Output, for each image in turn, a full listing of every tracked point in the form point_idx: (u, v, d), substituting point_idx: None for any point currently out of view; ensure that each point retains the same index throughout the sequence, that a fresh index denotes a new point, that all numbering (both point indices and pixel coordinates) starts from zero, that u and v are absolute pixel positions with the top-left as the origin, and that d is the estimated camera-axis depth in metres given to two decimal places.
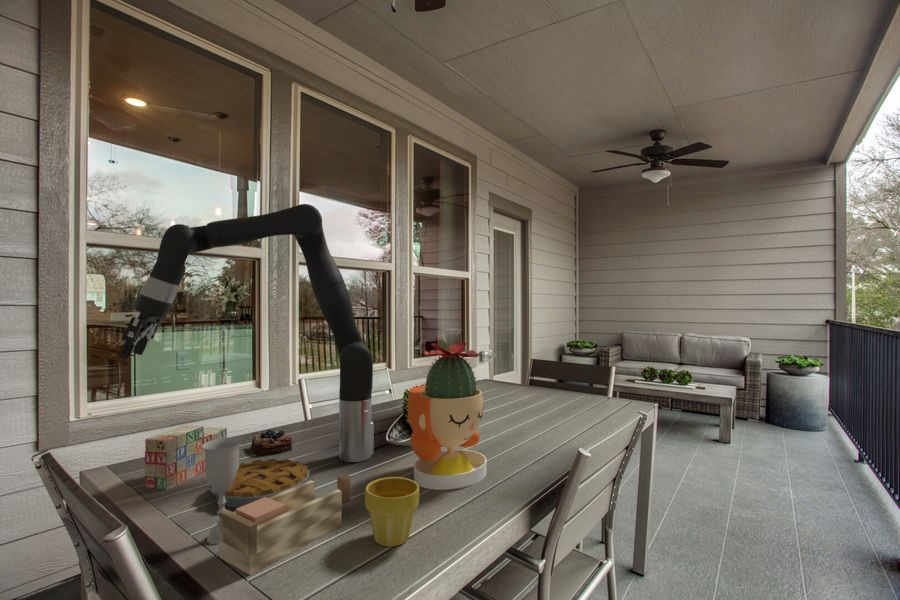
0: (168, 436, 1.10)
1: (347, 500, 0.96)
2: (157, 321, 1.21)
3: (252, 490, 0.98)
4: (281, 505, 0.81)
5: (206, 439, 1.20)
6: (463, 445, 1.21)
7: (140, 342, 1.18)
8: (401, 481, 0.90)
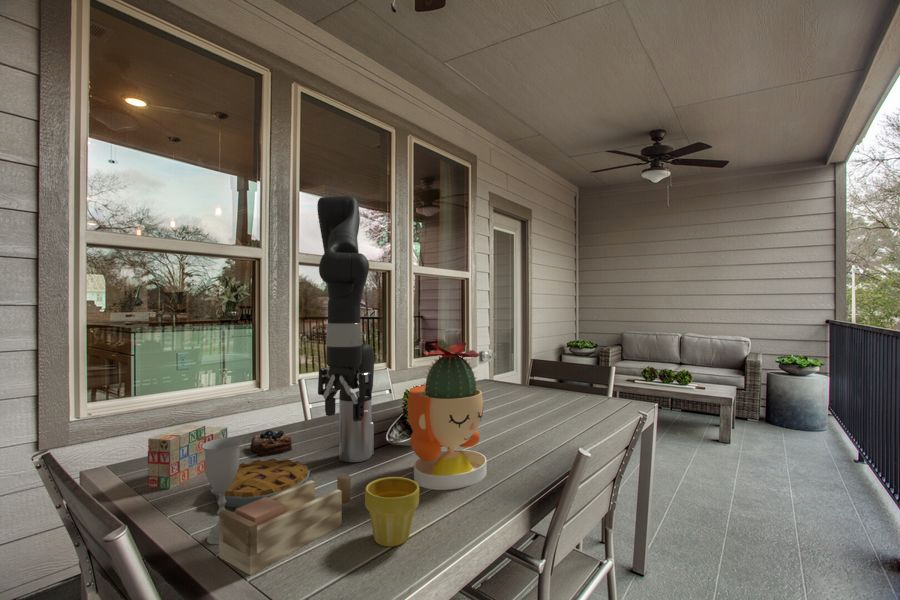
0: (171, 435, 1.11)
1: (347, 500, 0.96)
2: None
3: (252, 490, 0.98)
4: (281, 505, 0.81)
5: (208, 438, 1.21)
6: (463, 445, 1.21)
7: (330, 401, 0.99)
8: (401, 481, 0.90)
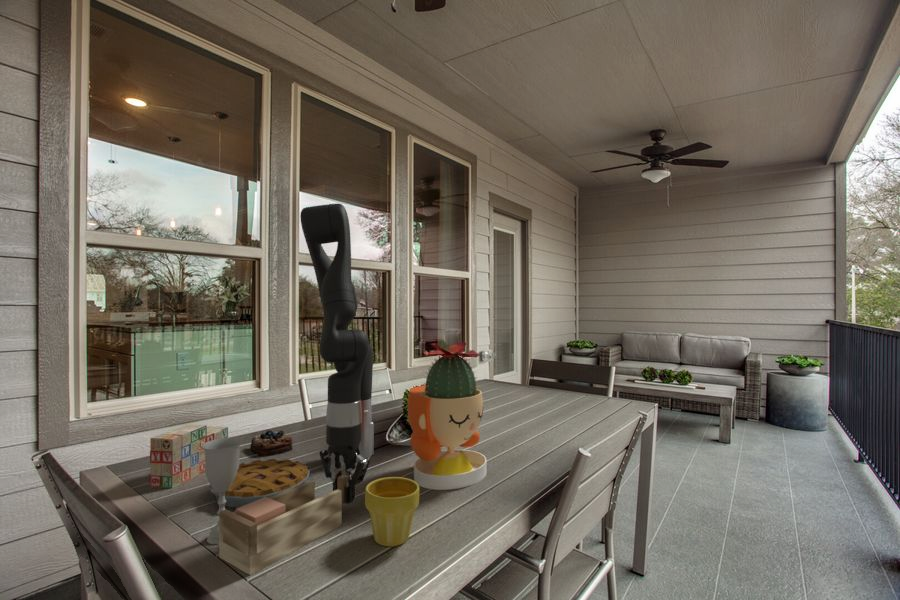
0: (173, 435, 1.11)
1: None
2: None
3: (252, 490, 0.98)
4: (281, 505, 0.81)
5: (209, 438, 1.21)
6: (463, 445, 1.21)
7: None
8: (401, 481, 0.90)
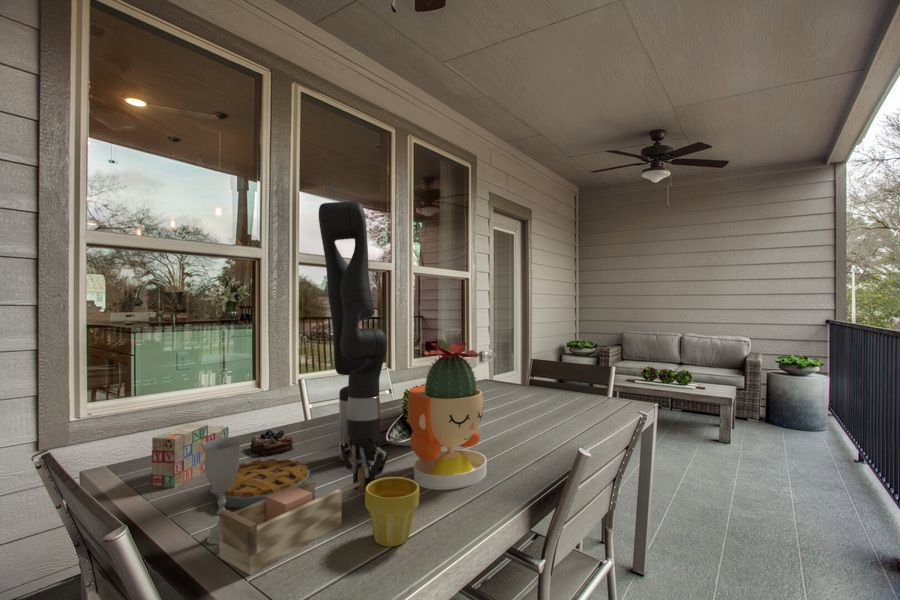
0: (175, 435, 1.11)
1: None
2: None
3: (252, 490, 0.98)
4: (308, 493, 0.86)
5: (210, 437, 1.22)
6: (463, 445, 1.21)
7: None
8: (401, 481, 0.90)
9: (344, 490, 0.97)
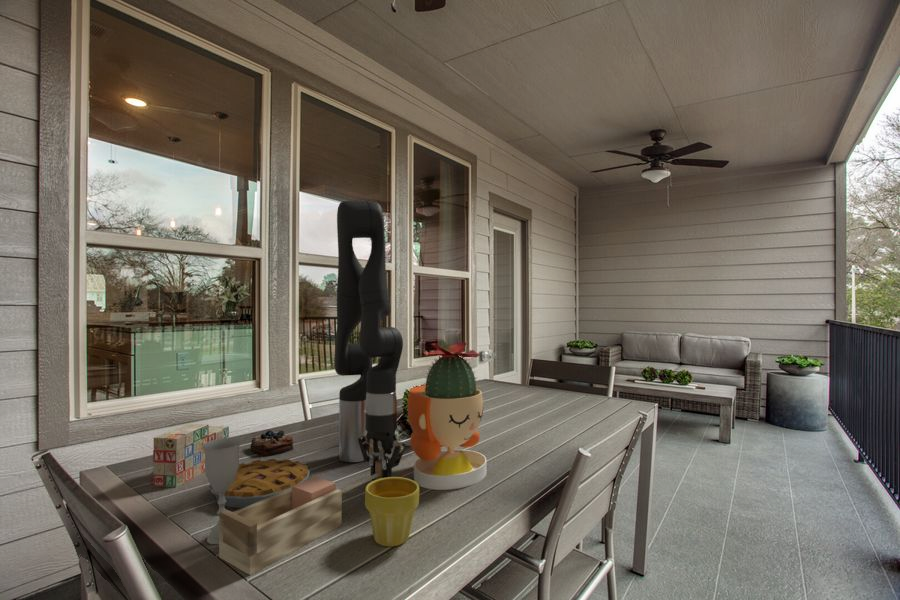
0: (176, 434, 1.11)
1: None
2: None
3: (252, 490, 0.98)
4: (332, 483, 0.91)
5: (211, 437, 1.22)
6: (463, 445, 1.21)
7: None
8: (401, 481, 0.90)
9: (363, 481, 1.01)
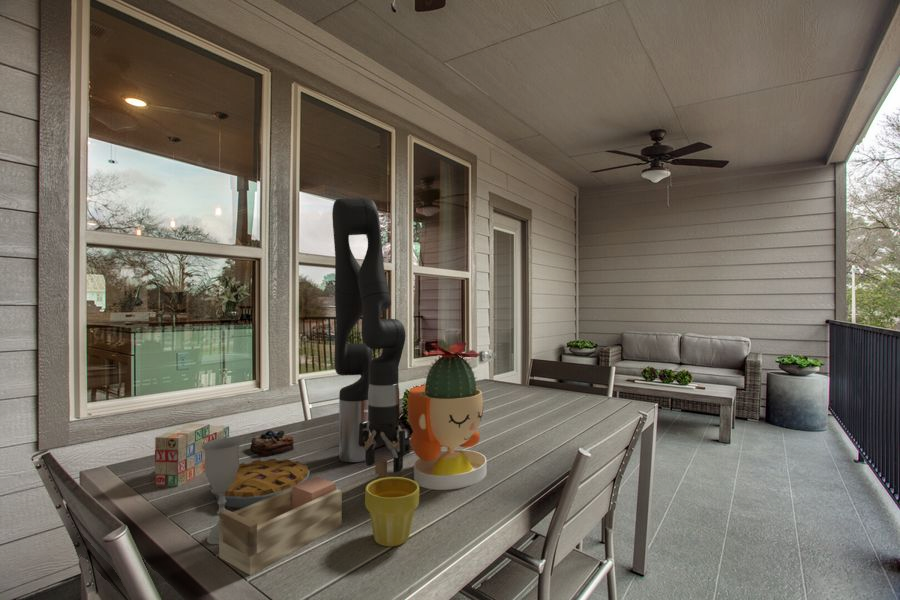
0: (178, 434, 1.12)
1: None
2: None
3: (252, 490, 0.98)
4: (332, 483, 0.91)
5: (212, 437, 1.22)
6: (463, 445, 1.21)
7: (370, 452, 1.09)
8: (401, 481, 0.90)
9: (363, 481, 1.01)
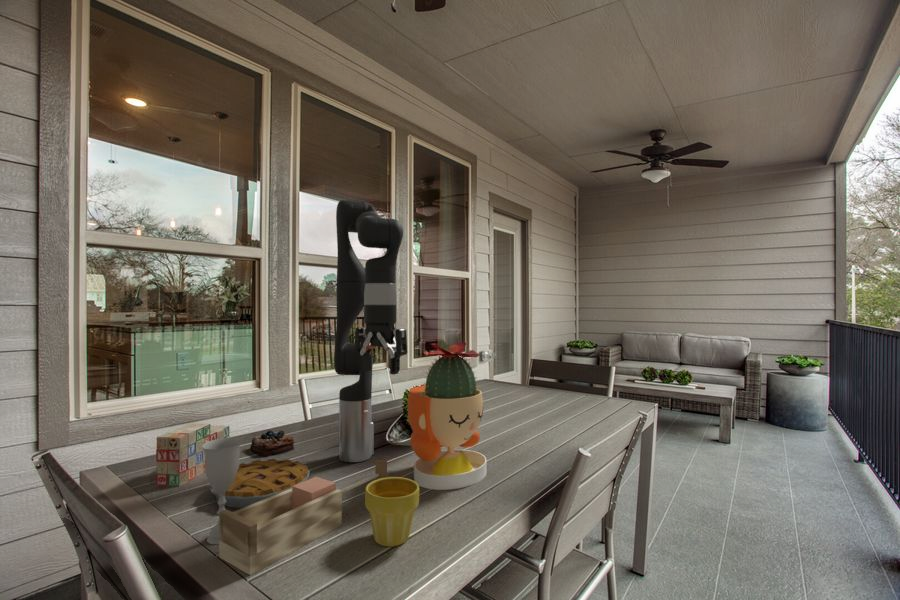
0: (179, 434, 1.12)
1: None
2: None
3: (252, 490, 0.98)
4: (332, 483, 0.91)
5: (212, 436, 1.22)
6: (463, 445, 1.21)
7: (367, 358, 1.06)
8: (401, 481, 0.90)
9: (363, 481, 1.01)
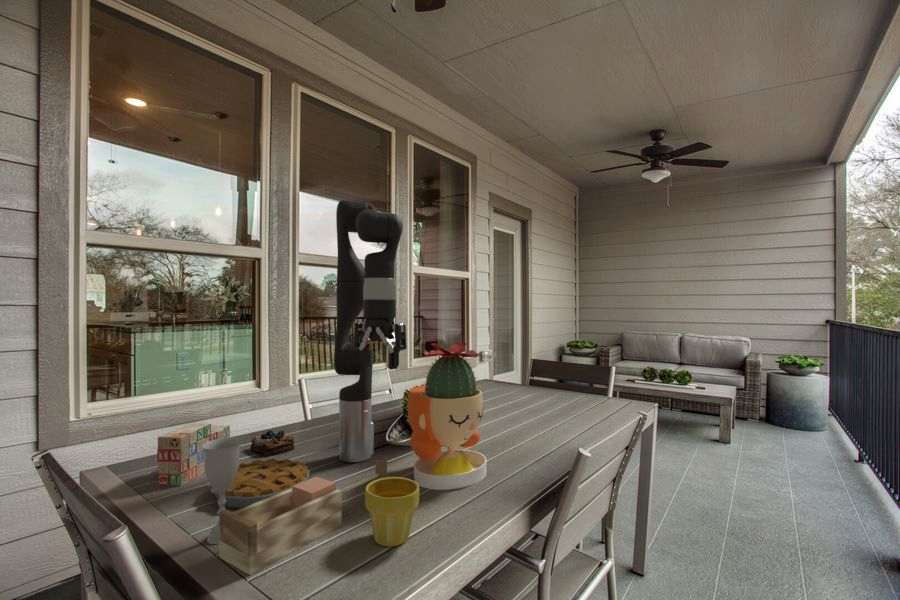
0: (180, 433, 1.12)
1: None
2: None
3: (252, 490, 0.98)
4: (332, 483, 0.91)
5: (213, 436, 1.23)
6: (463, 445, 1.21)
7: (366, 353, 1.05)
8: (401, 481, 0.90)
9: (363, 481, 1.01)
